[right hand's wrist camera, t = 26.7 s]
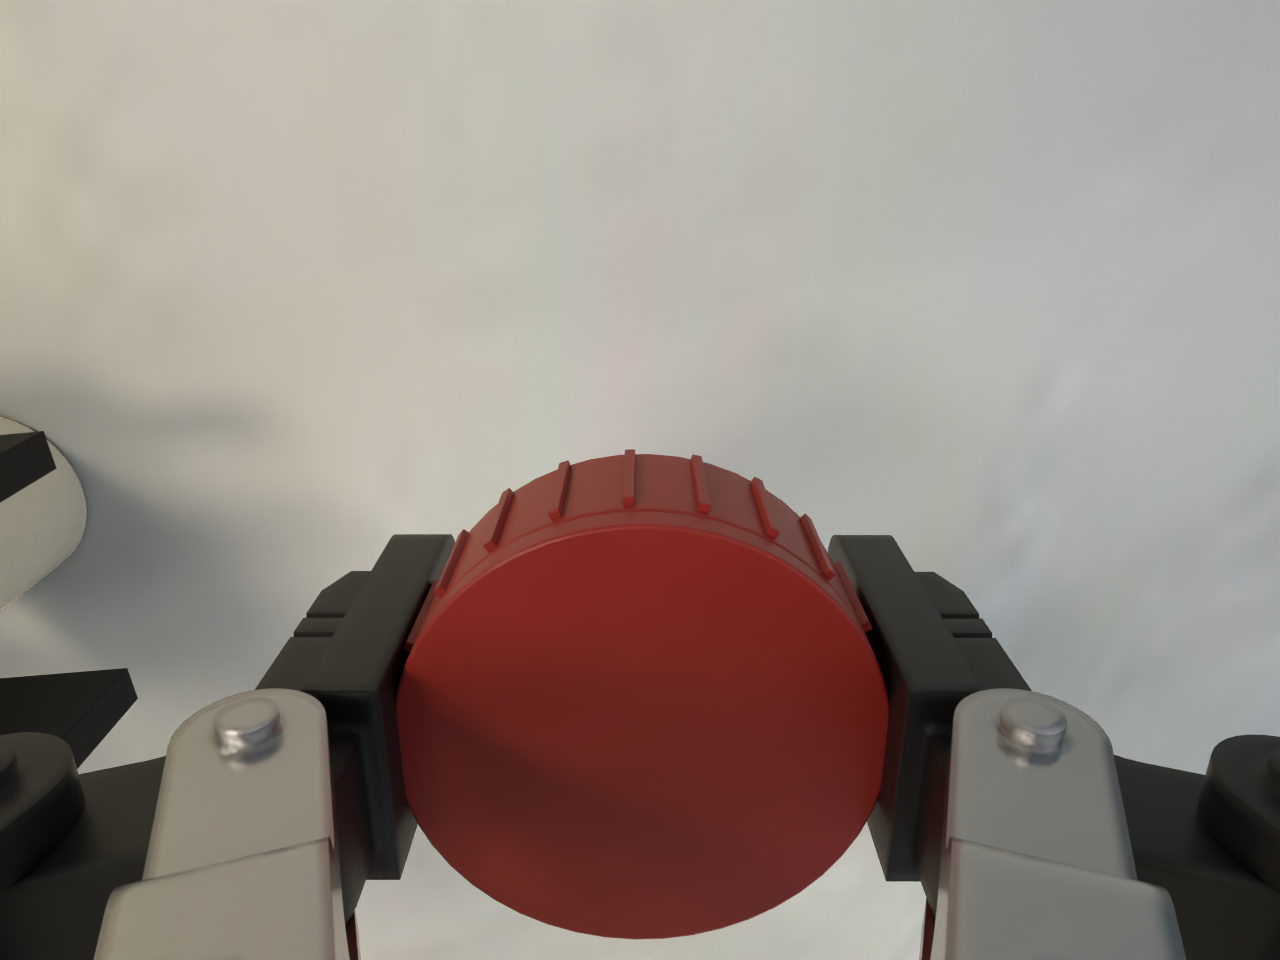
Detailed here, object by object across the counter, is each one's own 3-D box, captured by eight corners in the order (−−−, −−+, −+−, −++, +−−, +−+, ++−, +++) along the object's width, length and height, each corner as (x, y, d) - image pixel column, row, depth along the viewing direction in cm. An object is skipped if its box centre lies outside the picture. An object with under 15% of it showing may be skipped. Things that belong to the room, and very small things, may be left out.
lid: (697, 355, 10) (710, 409, 8) (933, 691, 11) (991, 802, 9) (335, 604, 11) (274, 702, 9) (597, 880, 12) (590, 1013, 10)
